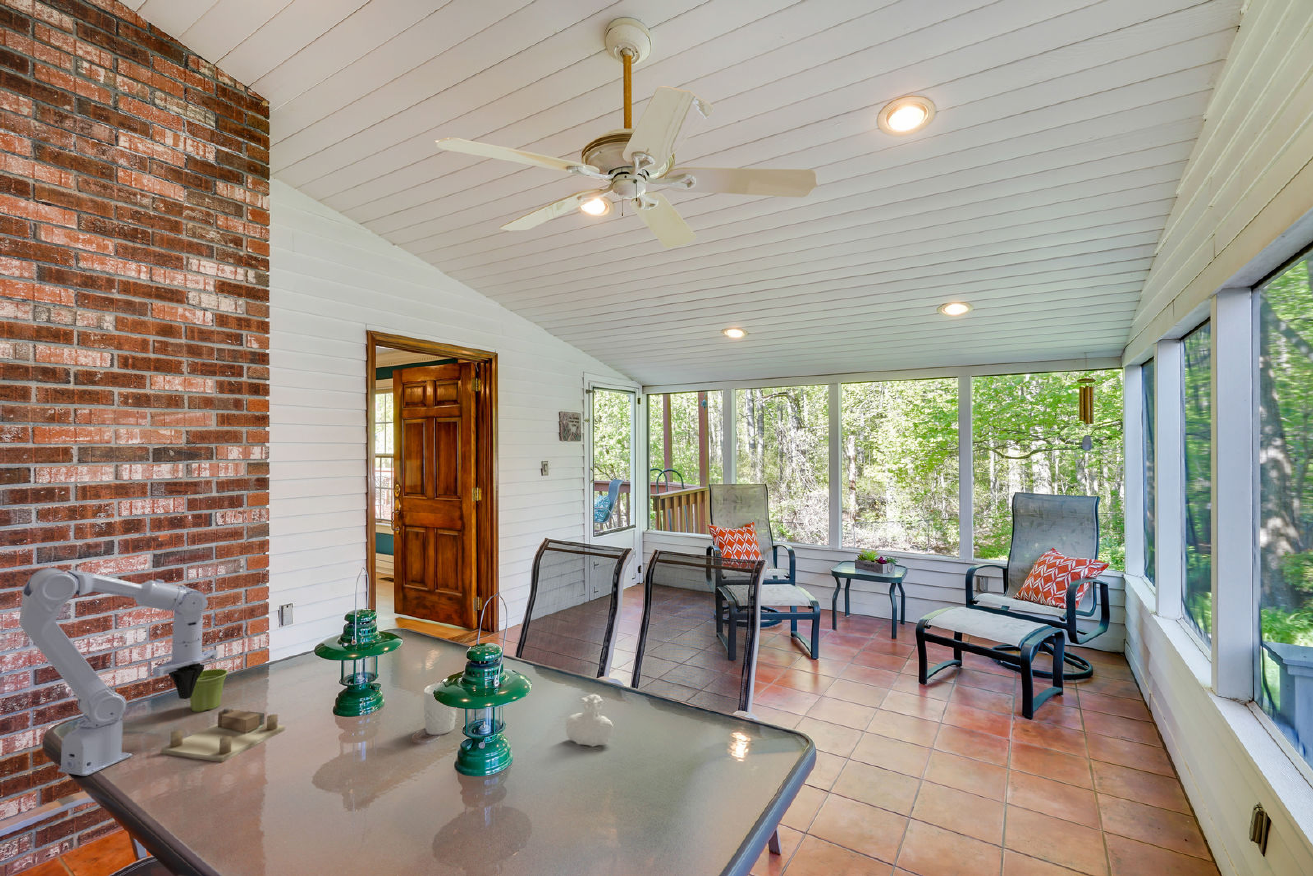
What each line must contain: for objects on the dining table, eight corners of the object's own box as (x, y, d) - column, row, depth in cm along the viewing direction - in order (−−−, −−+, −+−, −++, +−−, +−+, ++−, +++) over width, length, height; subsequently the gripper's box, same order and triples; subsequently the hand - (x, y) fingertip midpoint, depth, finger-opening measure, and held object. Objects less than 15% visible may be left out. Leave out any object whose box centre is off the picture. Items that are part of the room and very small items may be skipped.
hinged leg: (213, 726, 151) (214, 711, 151) (228, 720, 155) (228, 706, 155) (245, 732, 148) (246, 717, 148) (259, 727, 151) (259, 711, 151)
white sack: (613, 753, 146) (624, 704, 153) (604, 744, 141) (615, 693, 148) (567, 746, 150) (579, 698, 157) (556, 737, 144) (569, 688, 151)
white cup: (462, 723, 157) (462, 683, 158) (448, 737, 149) (449, 694, 150) (432, 721, 158) (432, 682, 158) (417, 735, 150) (418, 693, 150)
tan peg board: (222, 762, 136) (223, 743, 136) (160, 753, 140) (161, 735, 140) (285, 729, 153) (285, 713, 153) (228, 722, 156) (228, 706, 157)
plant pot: (210, 715, 161) (211, 681, 162) (174, 714, 161) (175, 680, 162) (235, 701, 171) (236, 669, 171) (201, 700, 171) (202, 668, 171)
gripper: (170, 650, 141) (168, 711, 140) (228, 633, 155) (226, 688, 154) (146, 647, 142) (143, 708, 142) (205, 631, 156) (203, 686, 156)
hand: (185, 697), depth 148 cm, fingers closed
